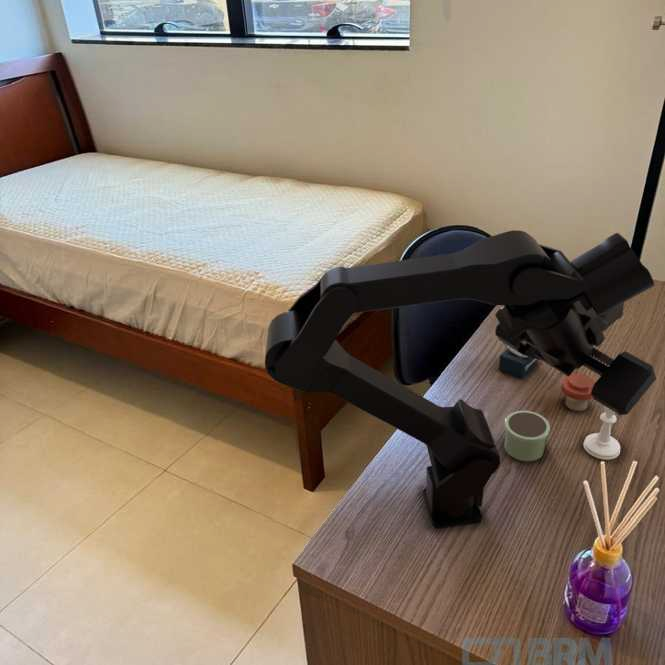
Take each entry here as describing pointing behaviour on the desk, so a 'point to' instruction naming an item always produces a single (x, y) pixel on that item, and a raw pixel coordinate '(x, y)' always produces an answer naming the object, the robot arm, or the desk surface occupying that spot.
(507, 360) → the watch
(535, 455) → the pot
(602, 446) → the chess piece
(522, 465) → the desk surface
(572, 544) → the desk surface
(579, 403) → the mushroom
